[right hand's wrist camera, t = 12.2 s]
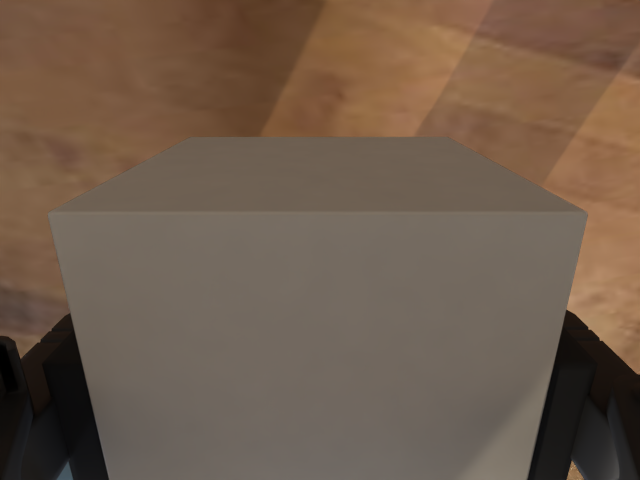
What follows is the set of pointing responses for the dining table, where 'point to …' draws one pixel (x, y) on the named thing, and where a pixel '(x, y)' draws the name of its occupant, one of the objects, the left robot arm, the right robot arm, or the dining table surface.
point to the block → (318, 309)
